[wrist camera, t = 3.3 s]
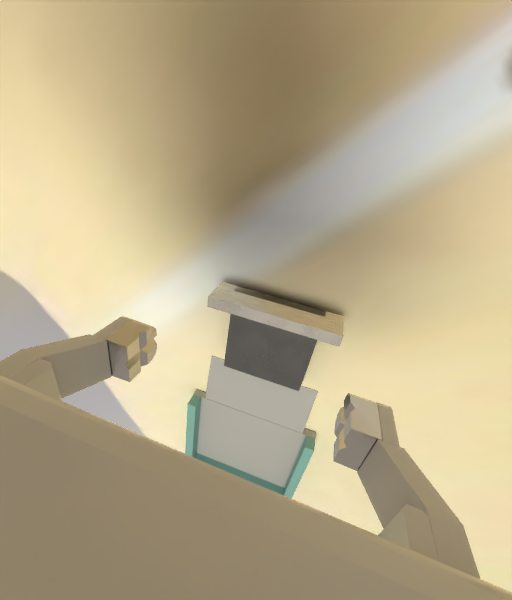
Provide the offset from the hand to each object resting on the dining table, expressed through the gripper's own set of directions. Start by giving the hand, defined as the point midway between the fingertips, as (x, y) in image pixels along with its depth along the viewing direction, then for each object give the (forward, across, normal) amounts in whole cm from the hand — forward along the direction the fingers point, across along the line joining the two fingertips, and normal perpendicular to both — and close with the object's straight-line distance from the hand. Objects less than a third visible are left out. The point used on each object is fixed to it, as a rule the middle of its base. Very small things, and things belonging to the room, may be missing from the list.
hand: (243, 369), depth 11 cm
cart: (+14, +1, +8) cm, 16 cm away
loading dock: (+15, +1, +23) cm, 27 cm away
